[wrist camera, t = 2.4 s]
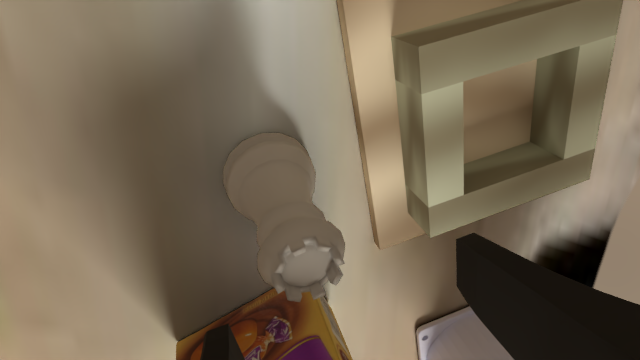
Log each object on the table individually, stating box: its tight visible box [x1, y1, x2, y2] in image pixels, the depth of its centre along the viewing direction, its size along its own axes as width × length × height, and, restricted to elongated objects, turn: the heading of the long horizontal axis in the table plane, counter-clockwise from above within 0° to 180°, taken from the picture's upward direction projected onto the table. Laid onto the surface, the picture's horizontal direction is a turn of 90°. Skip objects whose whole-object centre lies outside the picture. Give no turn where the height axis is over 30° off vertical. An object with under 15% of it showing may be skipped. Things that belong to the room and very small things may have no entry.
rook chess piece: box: [223, 133, 345, 302], centre depth 17 cm, size 4×4×8 cm
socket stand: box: [337, 0, 623, 250], centre depth 21 cm, size 14×14×3 cm
